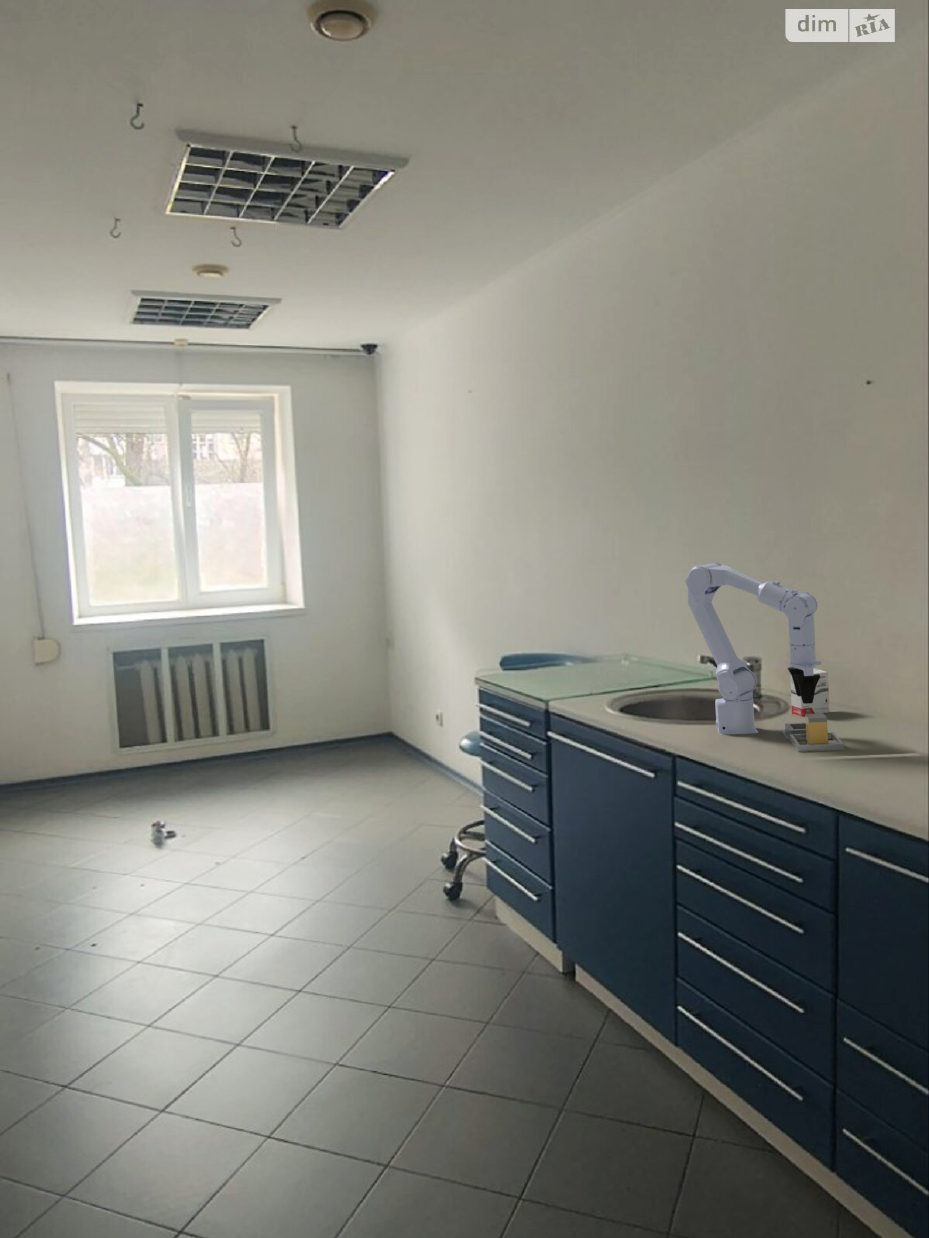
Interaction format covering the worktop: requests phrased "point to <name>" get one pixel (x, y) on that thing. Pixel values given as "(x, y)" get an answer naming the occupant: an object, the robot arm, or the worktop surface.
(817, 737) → the block
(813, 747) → the parts tray
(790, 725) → the socket block
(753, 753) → the worktop surface
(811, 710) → the ink box
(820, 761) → the worktop surface
